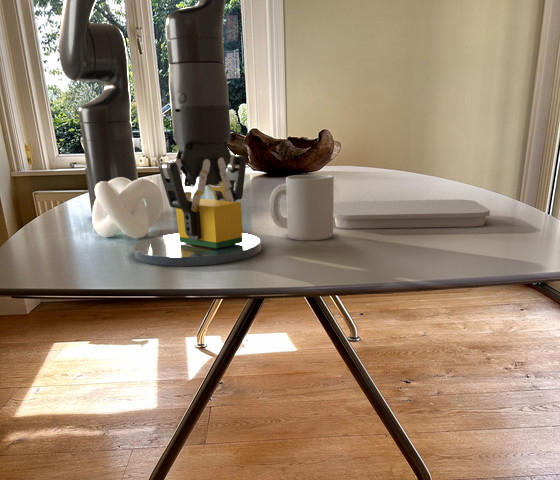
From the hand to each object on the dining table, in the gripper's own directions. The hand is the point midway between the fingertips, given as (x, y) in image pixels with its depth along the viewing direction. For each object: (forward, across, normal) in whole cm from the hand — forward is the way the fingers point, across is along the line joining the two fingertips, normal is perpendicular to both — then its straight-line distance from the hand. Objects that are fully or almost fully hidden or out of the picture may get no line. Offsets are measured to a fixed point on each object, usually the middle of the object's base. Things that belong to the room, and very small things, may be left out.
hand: (210, 235), depth 84 cm
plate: (+2, +1, -2) cm, 3 cm away
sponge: (+1, 0, 0) cm, 1 cm away
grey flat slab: (+3, -38, +9) cm, 39 cm away
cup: (+3, -16, +3) cm, 17 cm away
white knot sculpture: (+2, 0, -21) cm, 21 cm away
